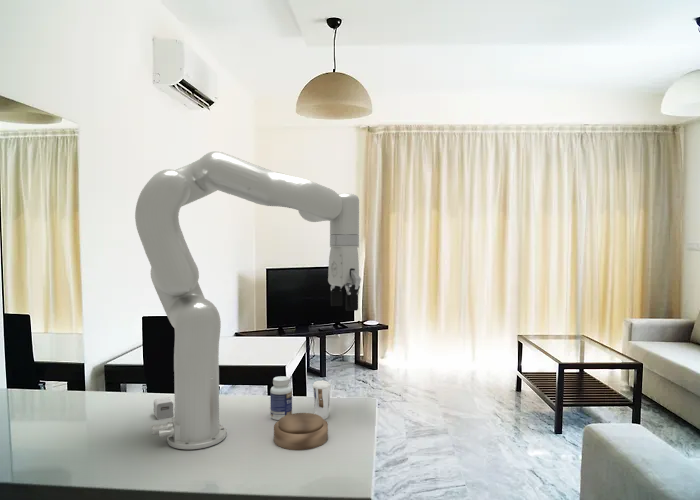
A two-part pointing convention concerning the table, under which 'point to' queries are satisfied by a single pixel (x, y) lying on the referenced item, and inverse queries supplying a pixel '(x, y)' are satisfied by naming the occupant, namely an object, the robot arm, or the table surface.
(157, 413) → the usb wall charger
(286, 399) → the pill bottle
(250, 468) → the table surface
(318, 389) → the milkshake
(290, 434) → the walnut stand
